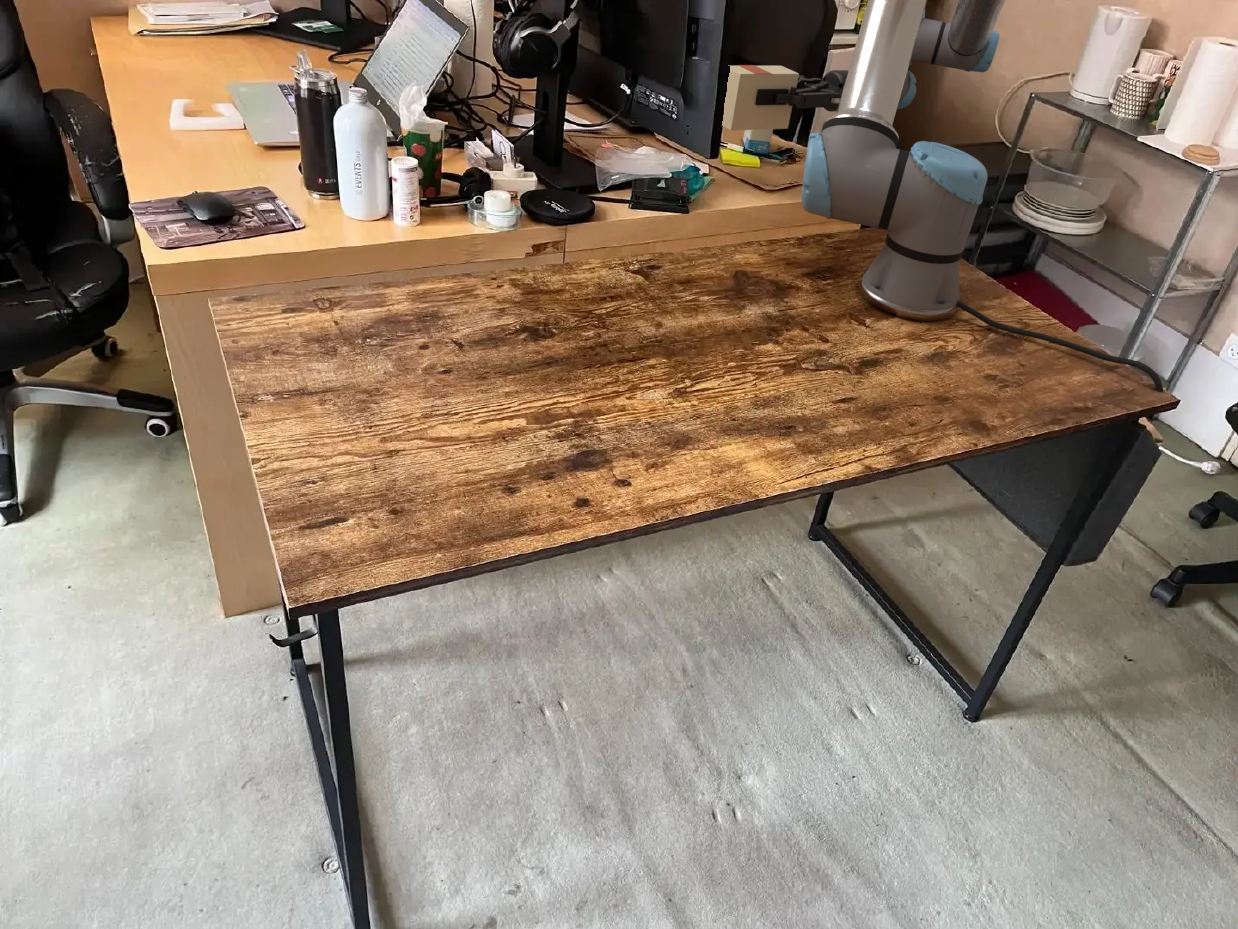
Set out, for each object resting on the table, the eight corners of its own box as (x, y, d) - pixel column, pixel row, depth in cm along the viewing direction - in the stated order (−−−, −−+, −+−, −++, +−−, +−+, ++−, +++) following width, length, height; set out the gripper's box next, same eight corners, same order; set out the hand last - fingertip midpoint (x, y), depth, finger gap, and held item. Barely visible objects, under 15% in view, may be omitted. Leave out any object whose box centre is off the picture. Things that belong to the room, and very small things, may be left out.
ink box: (768, 155, 193) (780, 98, 186) (745, 152, 193) (757, 95, 186) (764, 142, 200) (776, 86, 193) (742, 139, 200) (753, 83, 193)
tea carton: (770, 119, 178) (781, 64, 172) (787, 128, 173) (799, 73, 168) (714, 121, 172) (723, 64, 166) (730, 130, 168) (740, 73, 162)
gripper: (871, 124, 173) (771, 128, 164) (813, 97, 187) (718, 98, 177) (881, 83, 169) (780, 84, 160) (821, 58, 182) (724, 58, 173)
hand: (747, 92), depth 169 cm, fingers closed on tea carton, 6 cm apart
